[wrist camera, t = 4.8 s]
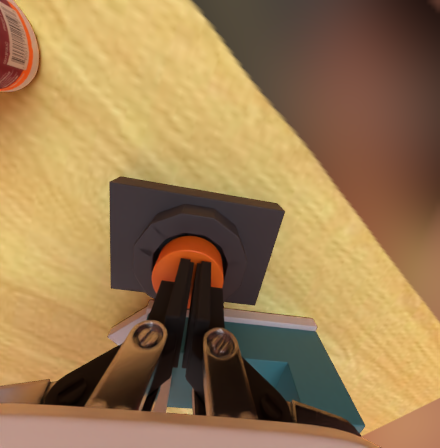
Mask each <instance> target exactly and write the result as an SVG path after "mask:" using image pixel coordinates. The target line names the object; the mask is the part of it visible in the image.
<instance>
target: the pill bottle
mask: <svg viewBox="0 0 440 448" xmlns="http://www.w3.org/2000/svg"><path fill="white" fill-rule="evenodd" d="M38 64H39V50H38V44H37V40H36V37H35V34H34V31H33V29H32V27H31V25H30V23H29V21H28V20H27V18H26V16H25V15H24V13H23V12H22V11H21V9H20V8H19V7H18V6H17V4H16V3H15V2H14V1H13V0H0V91H1V92H12V91H17V90H19V89H22V88H23V87H25V86H27V85H28V84H29V83H30V82H31V81H32V79H33V78H34V77H35V75H36V73H37V69H38Z"/></svg>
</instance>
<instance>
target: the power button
mask: <svg viewBox="0 0 440 448" xmlns="http://www.w3.org/2000/svg"><path fill="white" fill-rule="evenodd" d="M181 258H185V259H191V261H190V262H194V267H193V274H192V280H191V287H190V294H189V300H188V307H187V308H190V303H191V297H192V291H193V285H194V280H195V274H196V268H197V263H201V261H206V262H211V287H217V288H222V287H223V282H224V277H223V265H222V258H221V255H220V253H219V251H218V250H217V248H216V247H215V246H214V245H213V244H212V243H211V242H209V241H207V240H205V239H203V238H200V237H196V236H182V237H179V238H176V239H173V240H172V241H170V242H169V243H167V244H166V245H165V246H164V247H163V249H162V250H161V252H160V254H159V257H158V259H157V261H156V264H155V266H154V268H153V271H152V285H153V288H154V290H155V292H156V293H157V292H158V289H159V286H160V283H161V281H162V280H164V281H171V282H175V278H176V275H177V271H178V267H179V263H180V259H181Z"/></svg>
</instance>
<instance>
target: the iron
mask: <svg viewBox="0 0 440 448" xmlns="http://www.w3.org/2000/svg"><path fill="white" fill-rule="evenodd" d="M153 303H154V300H149V303H148V306H147V307H145V308H144V309H142V310H140V311H139V312H137V313H135V314H134V315H132V316H130V317H129V318H127V319H125V320H124V321H122V322H120V323H119V324H117V325H115V326H114V327H112V328H111V330H110V332H109V334H108V336H107V337H108V338H109V339H111V340H112V341H113V342H114V343H116V344H117V345H118V346H119V345H120V344H122V343H123V342H124V341H125V339H126V337H127V336H128V334H129V332H130V331H131V330H132V328H133V327H134V326H135V325H137V324H138V323H140V322H142V321H145V320H148V317H149V314H150V312H151V309H152V306H153ZM188 317H189V310H187V313H186V320H185V326H184V332H183V338H182V344H181V350H180V356H179V362H178V368H174V367H173V369H172V374H171V378H170V379H168V380H167V381H166V382H165V383H163V384H162V385H161V388H160V392H159V395H158V398H157V401H156V404H155V406H154V409H153V412H162V413H166V408H167V407H177V408H192V409H193V407H192V386H191V385H190V384H189V382H188V381H187V380H186V377H185V374H186V369H184V368H182V361H183V354H184V346H185V339H186V332H187V325H188ZM224 324H225V329H227V330H228V331H230V332H231V333H232V334H233V335H234V336H235V337H236V339H237V342H238V345H239V349H240V353H241V356H242V357H243V358H244V359H245V360H246V361H247V362H248V363H249V364H250V365H251V366H252V367H253V368H254V369H255V370H256V371H257V372H258V373H260V374H261V375H262V376H263V377H264V378H265V379H266V380H267V381H268V382H269V383H270V384H271V385H272V386H273V387H274V388H275V389H276V390H277V391H278V392H279V393H280V394H281V395H282V396H283V398H284V399H285V400H286V401H289V402H291V401H292V400H295V401H298V402H300V403H303V404H306V405H309V406H312V407H315V408H317V409H320V410H323V411H326V412H329V413H331V414H334V415H337V416H340V417H342V418H344V419H346V420H348V421H349V422H350V423H351V424H352V425H353V426H354V427H355V428H356V430H357V431H358V432H359V434H360V432H361V431H362V430H363V429H364V427H365V424H364V422H363V420H362V418H361V417H360V415H359V413H358V411H357V409H356V407H355V405H354V403H353V401H352V399H351V397H350V396H349V394H348V392H347V390H346V388H345V386H344V384H343V382H342V380H341V378H340V377H339V375H338V373H337V371H336V369H335V367H334V365H333V363H332V361H331V359H330V358H329V356H328V354H327V352H326V350H325V348H324V346H323V344H322V342H321V340H320V338H319V337H318V335H317V333H316V332H315V331H316V329H317V325H316V323H315V322H314V320H313V319H312V318H303V317H295V316H286V315H278V314H269V313H260V312H252V311H243V310H234V309H226V308H224Z"/></svg>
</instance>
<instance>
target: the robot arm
mask: <svg viewBox="0 0 440 448" xmlns="http://www.w3.org/2000/svg"><path fill="white" fill-rule="evenodd" d="M190 261H191V259H185V258H181V259H180V263H179V267H178V271H177V275H176V278H175V282H171V281H164V280H162V281H161V283H160V286H159V289H158V292H157V295H156V297H155V300H154V303H153V306H152V309H151V312H150V314H149V317H148V320H145V321H142V322H140V323H138V324H137V325H135V326H134V327H133V328H132V330H131V331H130V332H129V334H128V336H127V337H126V339H125V341H124V342H123V343H122V344H120V345H119V346H117V347H115V348H113V349H111V350H110V351H108V352H106V353H104V354H103V355H101V356H99V357H97V358H95V359H94V360H92V361H90V362H88V363H87V364H85V365H83V366H81V367H79V368H78V369H76V370H74V371H72V372H71V373H69V374H67V375H65V376H64V377H63V378H61V379H60V380H58V381H55V382H50V379H46V380H39V381H32V382H25V383H18V384H11V385H4V386H0V448H381V447H380V446H378V445H376V444H374V443H372V442H370V441H368V440H366V439H364V438H362V437H361V435H360V434H359V432H358V431H357V430H356V428H355V427H354V426H353V425H352V424H351V423H350V422H349V421H348V420H346V419H344V418H342V417H340V416H337V415H334V414H331V413H329V412H326V411H323V410H320V409H317V408H315V407H312V406H309V405H306V404H303V403H300V402H298V401H295V400H292V401H291V402H289V401H286V400H285V399H284V398H283V396H282V395H281V394H280V393H279V392H278V391H277V390H276V389H275V388H274V387H273V386H272V385H271V384H270V383H269V382H268V381H267V380H266V379H265V378H264V377H263V376H262V375H261V374H260V373H258V372H257V371H256V370H255V369H254V368H253V367H252V366H251V365H250V364H249V363H248V362H247V361H246V360H245V359H244V358H243V357H242V356H241V353H240V349H239V345H238V342H237V339H236V337H235V336H234V335H233V334H232V333H231V332H230V331H228V330H227V329H225V324H224V306H223V289H222V288H217V287H211V262H206V261H201V263H197V268H196V274H195V280H194V285H193V291H192V297H191V303H190V310H189V317H188V325H187V332H186V339H185V346H184V354H183V361H182V368H184V369H186V374H185V377H186V380H187V381H188V382H189V384H190V385H191V386H192V407H193V415H189V414H176V413H162V412H153V409H154V406H155V404H156V401H157V398H158V395H159V392H160V388H161V385H162V384H163V383H165V382H166V381H167V380H168V379H170V378H171V374H172V369H173V367H174V368H178V362H179V356H180V350H181V344H182V338H183V332H184V326H185V320H186V313H187V307H188V300H189V294H190V287H191V280H192V274H193V267H194V262H190Z"/></svg>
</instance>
